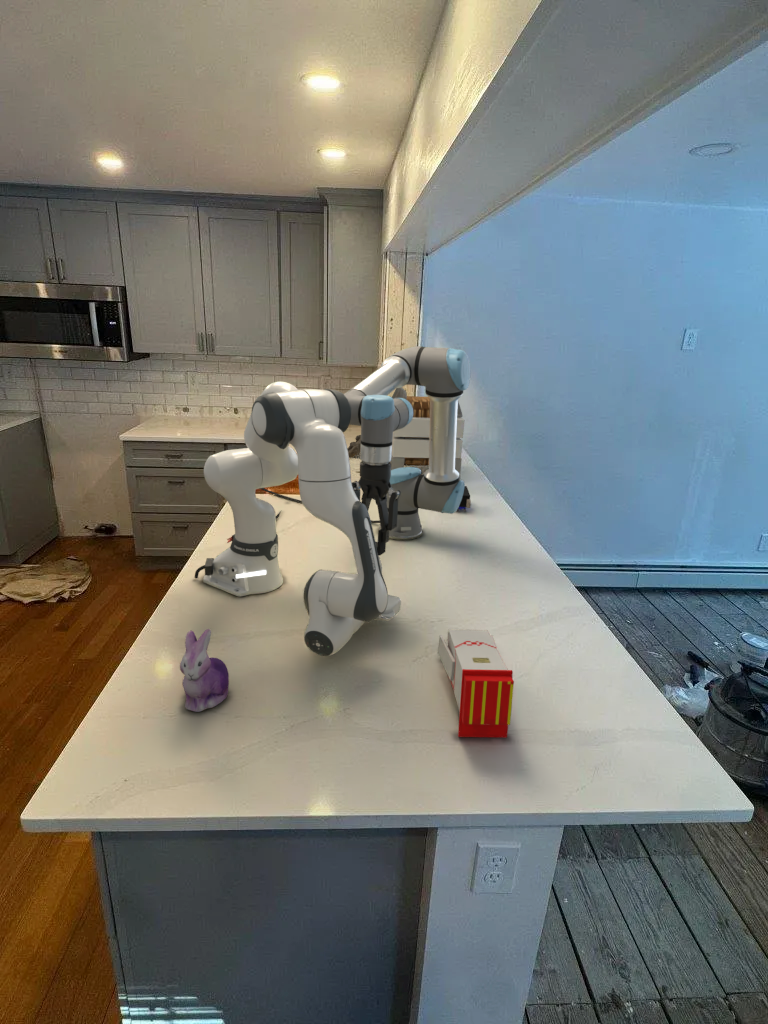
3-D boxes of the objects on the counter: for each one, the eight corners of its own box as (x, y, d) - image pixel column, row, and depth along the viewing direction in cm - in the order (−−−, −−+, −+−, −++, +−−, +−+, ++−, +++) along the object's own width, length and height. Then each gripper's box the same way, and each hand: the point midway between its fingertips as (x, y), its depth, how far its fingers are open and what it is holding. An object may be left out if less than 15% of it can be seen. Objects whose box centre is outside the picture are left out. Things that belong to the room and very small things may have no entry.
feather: (288, 505, 226) (290, 501, 226) (271, 529, 199) (273, 524, 199) (284, 503, 226) (287, 499, 225) (266, 526, 199) (269, 522, 199)
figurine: (186, 720, 107) (180, 652, 102) (178, 689, 115) (171, 624, 110) (237, 706, 111) (233, 640, 106) (225, 677, 119) (221, 615, 114)
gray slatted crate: (382, 463, 289) (386, 382, 275) (445, 464, 293) (451, 384, 279) (390, 482, 257) (394, 392, 243) (460, 483, 261) (468, 394, 247)
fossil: (346, 440, 316) (367, 425, 311) (357, 453, 319) (378, 438, 314) (340, 453, 296) (362, 438, 291) (351, 468, 299) (374, 452, 294)
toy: (488, 613, 130) (523, 677, 101) (484, 667, 133) (517, 744, 104) (435, 612, 130) (455, 676, 101) (432, 666, 133) (451, 743, 103)
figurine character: (470, 516, 223) (465, 500, 237) (473, 499, 220) (467, 484, 233) (453, 516, 223) (449, 500, 236) (455, 498, 220) (451, 483, 233)
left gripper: (390, 609, 131) (410, 584, 143) (312, 590, 138) (337, 568, 150) (389, 632, 133) (408, 606, 145) (312, 613, 140) (337, 589, 152)
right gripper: (415, 464, 134) (410, 554, 142) (353, 452, 143) (351, 538, 150) (400, 471, 128) (395, 564, 136) (336, 458, 136) (334, 547, 144)
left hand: (372, 587), depth 148 cm, fingers closed on bottle, 5 cm apart
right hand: (372, 550), depth 143 cm, fingers open, 5 cm apart
